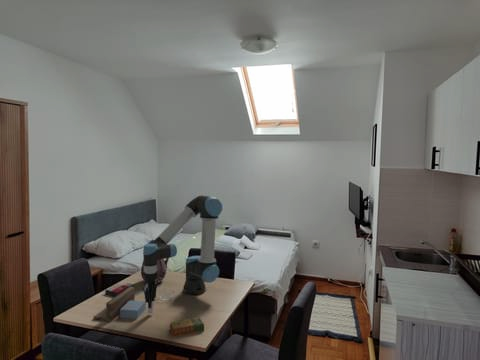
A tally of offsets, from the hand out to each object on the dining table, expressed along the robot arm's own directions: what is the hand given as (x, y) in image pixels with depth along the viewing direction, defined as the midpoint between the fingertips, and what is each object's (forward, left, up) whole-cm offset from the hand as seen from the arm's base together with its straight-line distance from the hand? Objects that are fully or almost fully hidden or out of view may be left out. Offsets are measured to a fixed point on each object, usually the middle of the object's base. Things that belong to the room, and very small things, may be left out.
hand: (150, 312), depth 186 cm
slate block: (+11, +1, -2) cm, 11 cm away
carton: (-26, +11, -2) cm, 28 cm away
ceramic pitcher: (+21, -49, -2) cm, 53 cm away
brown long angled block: (+23, 0, -1) cm, 23 cm away
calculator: (+35, -26, -2) cm, 44 cm away
